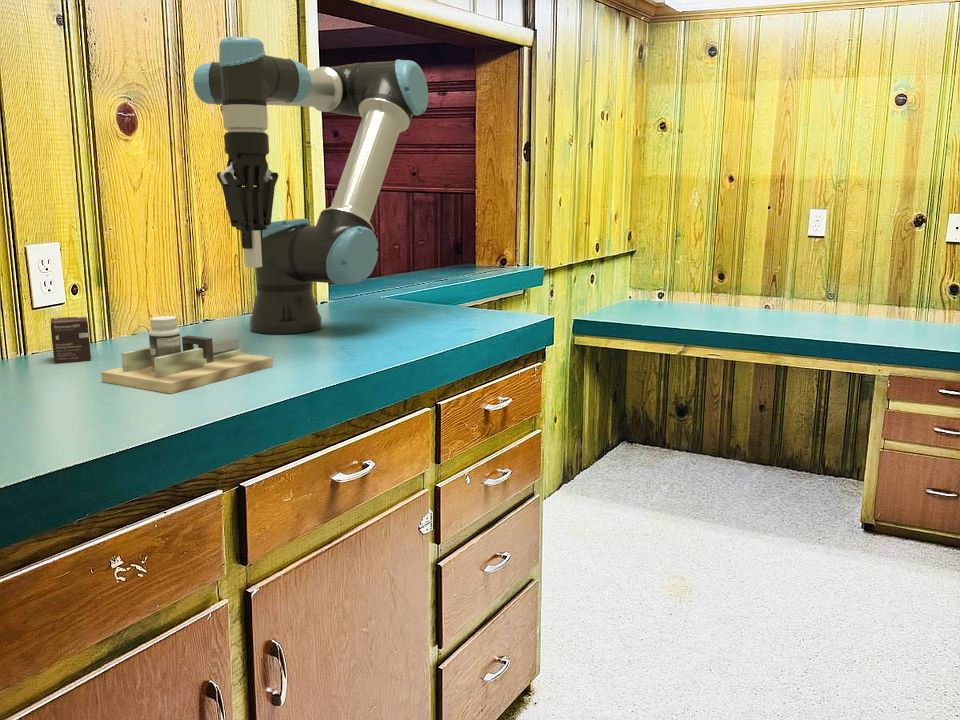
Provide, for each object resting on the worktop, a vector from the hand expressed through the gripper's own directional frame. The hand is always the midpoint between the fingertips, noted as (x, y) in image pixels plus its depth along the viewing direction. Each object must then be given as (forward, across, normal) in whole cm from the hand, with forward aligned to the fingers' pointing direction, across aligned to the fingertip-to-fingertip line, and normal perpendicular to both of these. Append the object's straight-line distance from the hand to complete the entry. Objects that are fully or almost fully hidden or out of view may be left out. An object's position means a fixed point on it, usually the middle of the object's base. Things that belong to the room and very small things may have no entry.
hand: (253, 266), depth 154 cm
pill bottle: (+15, +21, 0) cm, 26 cm away
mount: (+16, +17, +1) cm, 24 cm away
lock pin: (+15, +9, 0) cm, 17 cm away
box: (+17, +19, -27) cm, 37 cm away
